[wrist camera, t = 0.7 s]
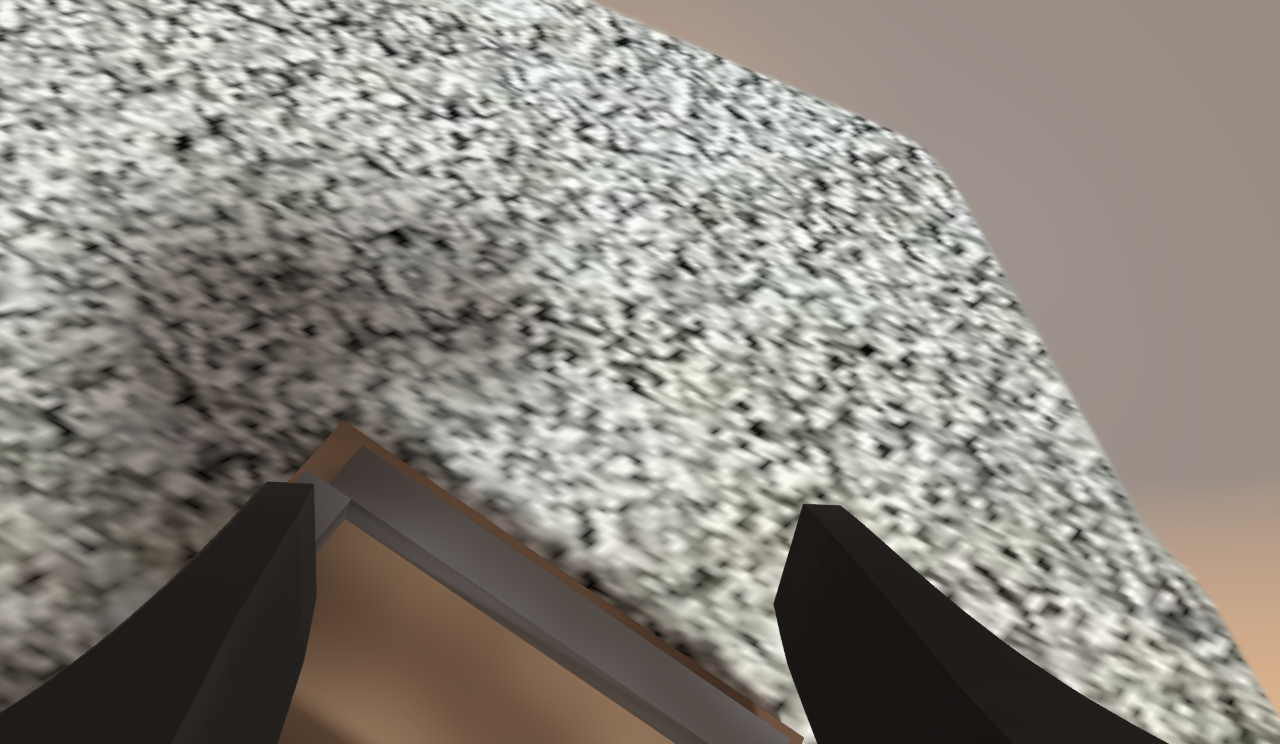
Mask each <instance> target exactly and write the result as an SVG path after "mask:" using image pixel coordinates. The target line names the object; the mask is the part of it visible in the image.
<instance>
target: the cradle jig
mask: <svg viewBox="0 0 1280 744" xmlns="http://www.w3.org/2000/svg"><path fill="white" fill-rule="evenodd" d="M287 483H309V484H314V502H315V544H316V585H317V597H316V602H315V608H314V613H313V618H312V624H311V629H310V634H309V639H308V644H307V649H306V654H305V659H304V663H303V666H302V669H301V673H300V676H299V679H298V682H297V685H296V688H295V691H294V695H293V698H292V701H291V704H290V707H289V710H288V713H287V716H286V719H285V722H284V725H283V728H282V731H281V735H280V738H279V741H278V744H802V742H803V739H804V737H802V736H801V735H799V734H798V733H796V732H795V731H794V730H792V729H791V728H789V727H788V726H786V725H785V724H783V723H782V722H780V721H779V720H778V719H776V718H775V717H773V716H772V715H770V714H769V713H767V712H766V711H765V710H763V709H762V708H760V707H759V706H757V705H756V704H754V703H753V702H751V701H750V700H749V699H747V698H746V697H744V696H743V695H741V694H740V693H738V692H737V691H735V690H734V689H733V688H731V687H730V686H728V685H727V684H725V683H724V682H722V681H721V680H719V679H718V678H717V677H715V676H714V675H712V674H711V673H709V672H708V671H706V670H705V669H703V668H702V667H701V666H699V665H698V664H696V663H695V662H693V661H692V660H690V659H689V658H688V657H686V656H685V655H683V654H682V653H680V652H679V651H677V650H676V649H674V648H673V647H672V646H670V645H669V644H667V643H666V642H664V641H663V640H661V639H660V638H658V637H657V636H656V635H654V634H653V633H651V632H650V631H648V630H647V629H645V628H644V627H642V626H641V625H640V624H638V623H637V622H635V621H634V620H632V619H631V618H629V617H628V616H627V615H625V614H624V613H622V612H621V611H619V610H618V609H616V608H615V607H613V606H612V605H611V604H609V603H608V602H606V601H605V600H603V599H602V598H600V597H599V596H597V595H596V594H595V593H593V592H592V591H590V590H589V589H587V588H586V587H584V586H583V585H581V584H580V583H579V582H577V581H576V580H574V579H573V578H571V577H570V576H568V575H567V574H565V573H564V572H563V571H561V570H560V569H558V568H557V567H555V566H554V565H552V564H551V563H550V562H548V561H547V560H545V559H544V558H542V557H541V556H539V555H538V554H536V553H535V552H534V551H532V550H531V549H529V548H528V547H526V546H525V545H523V544H522V543H520V542H519V541H518V540H516V539H515V538H513V537H512V536H510V535H509V534H507V533H506V532H504V531H503V530H502V529H500V528H499V527H497V526H496V525H494V524H493V523H491V522H490V521H489V520H487V519H486V518H484V517H483V516H481V515H480V514H478V513H477V512H475V511H474V510H473V509H471V508H470V507H468V506H467V505H465V504H464V503H462V502H461V501H459V500H458V499H457V498H455V497H454V496H452V495H451V494H449V493H448V492H446V491H445V490H443V489H442V488H441V487H439V486H438V485H436V484H435V483H433V482H432V481H430V480H429V479H428V478H426V477H425V476H423V475H422V474H420V473H419V472H417V471H416V470H414V469H413V468H412V467H410V466H409V465H407V464H406V463H404V462H403V461H401V460H400V459H398V458H397V457H396V456H394V455H393V454H391V453H390V452H388V451H387V450H385V449H384V448H382V447H381V446H380V445H378V444H377V443H375V442H374V441H372V440H371V439H369V438H368V437H366V436H365V435H364V434H362V433H361V432H359V431H358V430H356V429H355V428H353V427H352V426H351V425H349V424H348V423H346V422H345V421H342V422H341V423H340V424H339V425H338V427H337V428H336V429H335V430H334V431H333V432H332V433H331V434H330V436H329V437H328V438H327V439H326V440H325V441H324V442H323V443H322V444H321V446H320V447H319V448H318V449H317V450H316V451H315V452H314V453H313V455H312V456H311V457H310V458H309V459H308V460H307V461H306V462H305V463H304V465H303V466H302V467H301V468H300V469H299V470H298V471H297V472H296V473H295V475H294V476H293V477H292V478H291V479H290V480H289V481H288V482H287Z"/></svg>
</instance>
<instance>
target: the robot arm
mask: <svg viewBox="0 0 1280 744" xmlns="http://www.w3.org/2000/svg"><path fill="white" fill-rule="evenodd" d="M316 597H317V585H316V544H315V502H314V484H309V483H285V482H267V483H266V484H264V485H263V486H262V487H260V488H259V489H258V490H257V491H256V492H255V494H254V495H253V496H252V497H251V498H250V499H249V500H248V501H247V502H246V504H245V505H244V506H243V507H242V508H241V509H240V510H239V511H238V512H237V513H236V515H235V516H234V517H233V518H232V519H231V520H230V521H229V522H228V523H227V524H226V525H225V526H224V527H223V528H222V529H221V531H220V532H219V533H218V534H217V535H216V536H215V537H214V538H213V539H212V540H211V541H210V542H209V543H208V544H207V545H206V546H205V547H204V548H203V549H202V550H201V551H200V552H199V553H198V554H197V555H196V556H195V557H194V558H193V559H192V560H191V561H190V562H189V563H188V564H187V565H186V566H185V567H184V568H183V569H182V570H181V571H180V572H179V573H178V574H176V575H175V576H174V577H173V578H172V579H171V580H170V581H169V582H168V583H167V584H166V585H165V586H164V587H163V588H162V589H160V590H159V591H158V592H157V593H156V594H155V595H154V596H153V597H151V598H150V599H149V600H148V601H147V602H146V603H145V604H143V605H142V606H141V607H140V608H139V609H138V610H137V611H136V612H134V613H133V614H132V615H131V616H130V617H129V618H128V619H126V620H125V621H124V622H123V623H122V624H121V625H120V626H118V627H117V628H116V629H115V630H114V631H112V632H111V633H110V634H109V635H107V636H106V637H105V638H104V639H102V640H101V641H100V642H99V643H98V644H96V645H95V646H94V647H93V648H91V649H90V650H89V651H87V652H86V653H85V654H84V655H82V656H81V657H80V658H78V659H77V660H76V661H74V662H73V663H72V664H70V665H69V666H68V667H66V668H65V669H64V670H62V671H61V672H60V673H58V674H57V675H56V676H54V677H53V678H52V679H50V680H49V681H47V682H46V683H45V684H43V685H42V686H40V687H39V688H37V689H36V690H34V691H33V692H32V693H30V694H29V695H27V696H26V697H24V698H23V699H21V700H20V701H18V702H17V703H15V704H14V705H12V706H10V707H9V708H7V709H6V710H4V711H3V712H1V713H0V744H278V741H279V738H280V735H281V731H282V728H283V725H284V722H285V719H286V716H287V713H288V710H289V707H290V704H291V701H292V698H293V695H294V691H295V688H296V685H297V682H298V679H299V676H300V673H301V669H302V666H303V663H304V659H305V654H306V649H307V644H308V639H309V634H310V629H311V624H312V618H313V613H314V608H315V602H316ZM774 608H775V613H776V617H777V622H778V627H779V631H780V636H781V640H782V644H783V648H784V652H785V656H786V660H787V664H788V667H789V670H790V672H791V675H792V678H793V681H794V683H795V686H796V689H797V691H798V694H799V697H800V699H801V702H802V705H803V707H804V710H805V713H806V715H807V718H808V721H809V723H810V726H811V728H812V731H813V734H814V736H815V739H816V741H817V744H1168V743H1167V742H1165V741H1163V740H1161V739H1159V738H1157V737H1155V736H1153V735H1152V734H1150V733H1148V732H1146V731H1144V730H1142V729H1140V728H1139V727H1137V726H1135V725H1133V724H1131V723H1130V722H1128V721H1126V720H1124V719H1123V718H1121V717H1119V716H1118V715H1116V714H1114V713H1112V712H1111V711H1109V710H1107V709H1106V708H1104V707H1102V706H1100V705H1099V704H1097V703H1095V702H1094V701H1092V700H1090V699H1088V698H1087V697H1085V696H1084V695H1082V694H1080V693H1079V692H1077V691H1076V690H1074V689H1072V688H1071V687H1069V686H1068V685H1066V684H1064V683H1063V682H1061V681H1060V680H1058V679H1057V678H1055V677H1054V676H1052V675H1051V674H1049V673H1048V672H1047V671H1045V670H1044V669H1042V668H1041V667H1039V666H1038V665H1036V664H1035V663H1033V662H1032V661H1030V660H1029V659H1027V658H1026V657H1024V656H1023V655H1021V654H1020V653H1019V652H1017V651H1016V650H1014V649H1013V648H1012V647H1010V646H1009V645H1007V644H1006V643H1005V642H1003V641H1002V640H1001V639H999V638H998V637H997V636H995V635H994V634H993V633H992V632H990V631H989V630H988V629H986V628H985V627H984V626H983V625H981V624H980V623H979V622H977V621H976V620H975V619H974V618H972V617H971V616H970V615H968V614H967V613H966V612H965V611H963V610H962V609H961V608H960V607H958V606H957V605H956V604H955V603H954V602H952V601H951V600H950V599H949V598H947V597H946V596H945V595H944V594H943V593H941V592H940V591H939V590H938V589H937V588H936V587H934V586H933V585H932V584H931V583H930V582H929V581H927V580H926V579H925V578H924V577H923V576H922V575H920V574H919V573H918V572H917V571H916V570H915V569H914V568H912V567H911V566H910V565H909V564H908V563H907V562H906V561H904V560H903V559H902V558H901V557H900V556H899V555H898V554H896V553H895V552H894V551H893V550H892V549H891V548H890V547H889V546H887V545H886V544H885V543H884V542H883V541H882V540H881V539H880V538H878V537H877V536H876V535H875V534H874V533H873V532H872V531H870V530H869V529H868V528H867V527H866V526H865V525H864V524H862V523H861V522H860V521H859V520H858V519H857V518H855V517H854V516H853V515H852V514H850V513H849V512H848V511H847V510H845V509H844V508H843V507H842V506H840V505H817V504H803V506H802V510H801V513H800V516H799V520H798V523H797V527H796V530H795V533H794V537H793V540H792V543H791V547H790V550H789V554H788V557H787V560H786V564H785V567H784V570H783V574H782V577H781V581H780V584H779V587H778V591H777V594H776V597H775V601H774Z"/></svg>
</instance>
